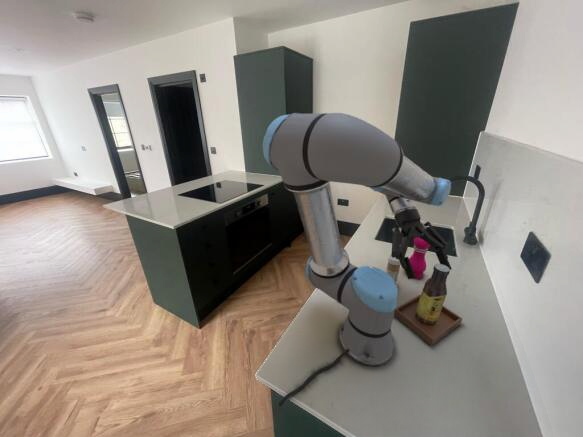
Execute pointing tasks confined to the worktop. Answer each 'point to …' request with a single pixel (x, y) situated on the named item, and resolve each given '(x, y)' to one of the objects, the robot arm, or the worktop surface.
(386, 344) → the robot arm
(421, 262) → the pepper mill
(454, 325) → the serving tray
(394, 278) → the sprinkles bottle
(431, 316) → the sauce bottle
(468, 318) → the worktop surface
